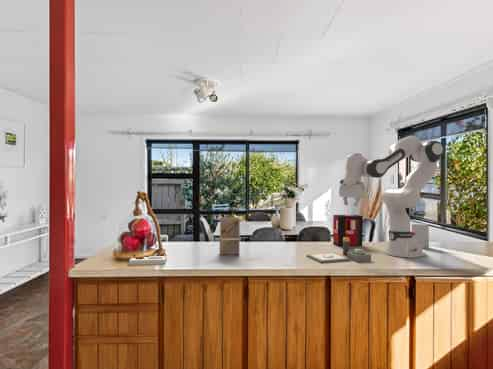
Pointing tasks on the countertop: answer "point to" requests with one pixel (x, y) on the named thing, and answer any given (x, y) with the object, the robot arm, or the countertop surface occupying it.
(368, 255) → the button housing
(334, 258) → the drawing board
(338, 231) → the cleaning product box
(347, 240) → the marker
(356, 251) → the button
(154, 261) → the holder
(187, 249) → the countertop surface
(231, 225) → the brown tall block
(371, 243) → the countertop surface
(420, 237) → the skincare box
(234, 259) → the countertop surface
